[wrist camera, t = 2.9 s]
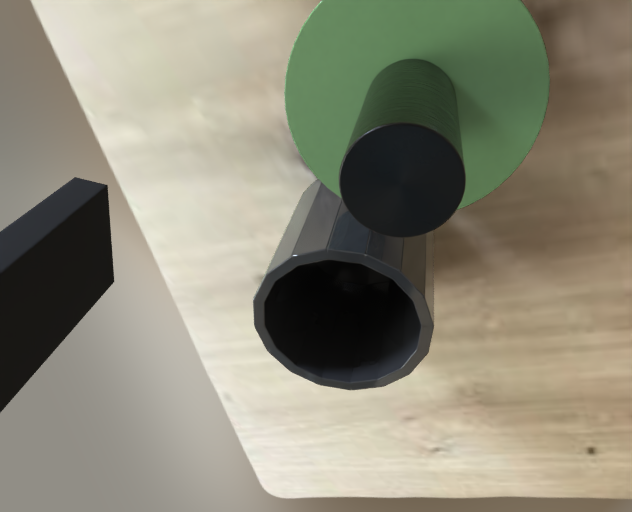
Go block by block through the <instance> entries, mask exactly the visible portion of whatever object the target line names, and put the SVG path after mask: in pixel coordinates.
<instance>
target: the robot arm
mask: <svg viewBox="0 0 632 512" xmlns="http://www.w3.org/2000/svg"><path fill="white" fill-rule="evenodd" d="M113 282H114V273H113V258H112V244H111V230H110V216H109V201H108V187H107V185H104V184H100V183H96V182H92V181H88V180H84V179H80V178H76V177H75V178H73V179H72V180H71V181H69V182H68V183H67V184H65V185H64V186H62V187H61V188H60V189H58V190H57V191H56V192H54V193H53V194H51V195H50V196H49V197H47V198H46V199H45V200H43V201H42V202H41V203H39V204H38V205H36V206H35V207H34V208H32V209H31V210H30V211H28V212H27V213H25V214H24V215H23V216H21V217H20V218H19V219H17V220H16V221H14V222H13V223H12V224H10V225H9V226H8V227H6V228H5V229H4V230H2V231H1V232H0V412H1V411H2V410H3V409H4V408H5V407H6V405H7V404H8V403H9V402H10V401H11V400H12V398H13V397H14V396H15V395H16V394H17V393H18V392H19V390H20V389H21V388H22V387H23V386H24V385H25V383H26V382H27V381H28V380H29V379H30V378H31V377H32V375H33V374H34V373H35V372H36V371H37V370H38V369H39V367H40V366H41V365H42V364H43V363H44V362H45V361H46V359H47V358H48V357H49V356H50V355H51V354H52V353H53V351H54V350H55V349H56V348H57V347H58V346H59V344H60V343H61V342H62V341H63V340H64V339H65V337H66V336H67V335H68V334H69V333H70V332H71V331H72V330H73V328H74V327H75V326H76V325H77V324H78V323H79V321H80V320H81V319H82V318H83V317H84V316H85V315H86V313H87V312H88V311H89V310H90V309H91V307H93V305H94V304H95V303H96V302H97V301H98V300H99V299H100V297H101V296H102V295H103V294H104V293H105V292H106V290H107V289H108V288H109V287H110V286H111V285H112V284H113Z"/></svg>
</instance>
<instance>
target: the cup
mask: <svg viewBox="0 0 632 512" xmlns="http://www.w3.org/2000/svg"><path fill="white" fill-rule="evenodd" d="M253 309H254V326H255V329H256V330H257V332H258V334H259V336H260V338H261V340H262V342H263V344H264V346H265V347H266V349H267V351H268V352H269V353H270V354H271V355H272V356H274V357H275V358H276V359H277V360H278V361H279V362H280V363H281V364H283V365H284V366H285V367H286V368H287V369H288V370H289V371H291V372H292V373H294V374H297V375H299V376H301V377H303V378H305V379H307V380H309V381H312V382H314V383H316V384H318V385H319V384H320V385H322V386H328V387H334V388H340V389H346V390H359V389H368V388H376V387H382V386H383V387H384V386H386V385H388V384H390V383H392V382H394V381H396V380H399V379H401V378H403V377H405V376H407V375H409V374H410V373H411V372H412V371H413V370H414V369H415V368H416V366H417V365H418V364H419V363H420V362H421V361H422V360H423V358H424V357H425V356H426V355H427V354H428V352H429V347H430V343H431V338H432V333H433V329H434V230H433V231H431V232H428V233H426V234H423V235H419V236H414V237H406V238H398V237H390V236H385V235H382V234H378V233H376V232H374V231H371V230H370V229H368V228H366V227H365V226H363V225H362V224H360V223H359V222H358V221H357V220H356V219H355V218H354V217H353V216H352V215H351V213H350V212H349V211H348V209H347V208H346V206H345V204H344V202H343V200H342V198H341V197H339V196H338V195H336V194H335V193H334V192H332V191H331V190H330V189H328V188H327V187H326V186H325V185H324V184H323V183H322V182H321V181H320V180H319V179H318V180H316V181H315V182H314V183H312V184H311V185H310V186H309V187H308V188H307V190H306V191H305V192H304V193H303V194H302V196H301V198H300V200H299V202H298V204H297V206H296V208H295V210H294V212H293V214H292V216H291V219H290V221H289V223H288V225H287V227H286V229H285V231H284V234H283V236H282V238H281V240H280V242H279V244H278V246H277V249H276V251H275V253H274V255H273V257H272V259H271V261H270V264H269V266H268V268H267V270H266V272H265V274H264V276H263V279H262V281H261V283H260V285H259V287H258V289H257V291H256V294H255V296H254V299H253Z"/></svg>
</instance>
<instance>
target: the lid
mask: <svg viewBox="0 0 632 512" xmlns="http://www.w3.org/2000/svg"><path fill="white" fill-rule="evenodd" d="M549 86H550V76H549V62H548V58H547V53H546V48H545V44H544V41H543V39H542V36H541V33H540V31H539V28H538V26H537V24H536V23H535V21H534V19H533V17H532V15H531V14H530V12H529V10H528V9H527V8H526V7H525V5H524V4H523V3H522V1H521V0H322V1H321V2H320V3H319V4H318V5H317V7H316V8H315V9H314V10H313V11H312V13H311V14H310V16H309V17H308V19H307V20H306V22H305V23H304V25H303V26H302V28H301V30H300V32H299V34H298V36H297V39H296V41H295V43H294V45H293V48H292V51H291V54H290V57H289V61H288V66H287V71H286V76H285V92H284V94H285V110H286V115H287V120H288V125H289V128H290V131H291V134H292V137H293V140H294V142H295V144H296V147H297V149H298V151H299V153H300V155H301V156H302V158H303V159H304V161H305V163H306V164H307V166H308V167H309V168H310V170H311V171H312V172H313V173H314V175H315V176H316V177H317V178H318V179H319V180H320V181H321V182H322V183H323V184H324V185H325V186H326V187H327V188H328V189H330V190H331V191H332V192H334V193H335V194H336V195H338V196H339V197H341V198H342V200H343V202H344V204H345V206H346V208H347V209H348V211H349V212H350V213H351V215H352V216H353V217H354V218H355V219H356V220H357V221H358V222H359V223H360V224H362V225H363V226H365V227H366V228H368V229H370V230H371V231H374V232H376V233H378V234H382V235H385V236H390V237H398V238H406V237H414V236H419V235H423V234H426V233H428V232H431V231H433V230H434V229H436V228H438V227H439V226H441V225H442V224H444V223H445V222H446V221H447V220H448V219H449V218H450V217H451V216H452V215H453V214H454V213H455V211H456V210H458V209H460V208H463V207H465V206H468V205H470V204H472V203H474V202H476V201H477V200H479V199H481V198H483V197H485V196H486V195H487V194H489V193H490V192H492V191H493V190H494V189H496V188H497V187H498V186H500V185H501V184H502V183H503V182H504V181H505V180H506V179H507V178H508V177H510V175H511V174H512V173H513V172H514V171H515V170H516V169H517V167H518V166H519V165H520V164H521V163H522V161H523V160H524V158H525V157H526V155H527V154H528V152H529V151H530V150H531V148H532V146H533V144H534V142H535V140H536V138H537V136H538V134H539V131H540V129H541V126H542V123H543V120H544V118H545V113H546V109H547V104H548V99H549Z"/></svg>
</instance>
